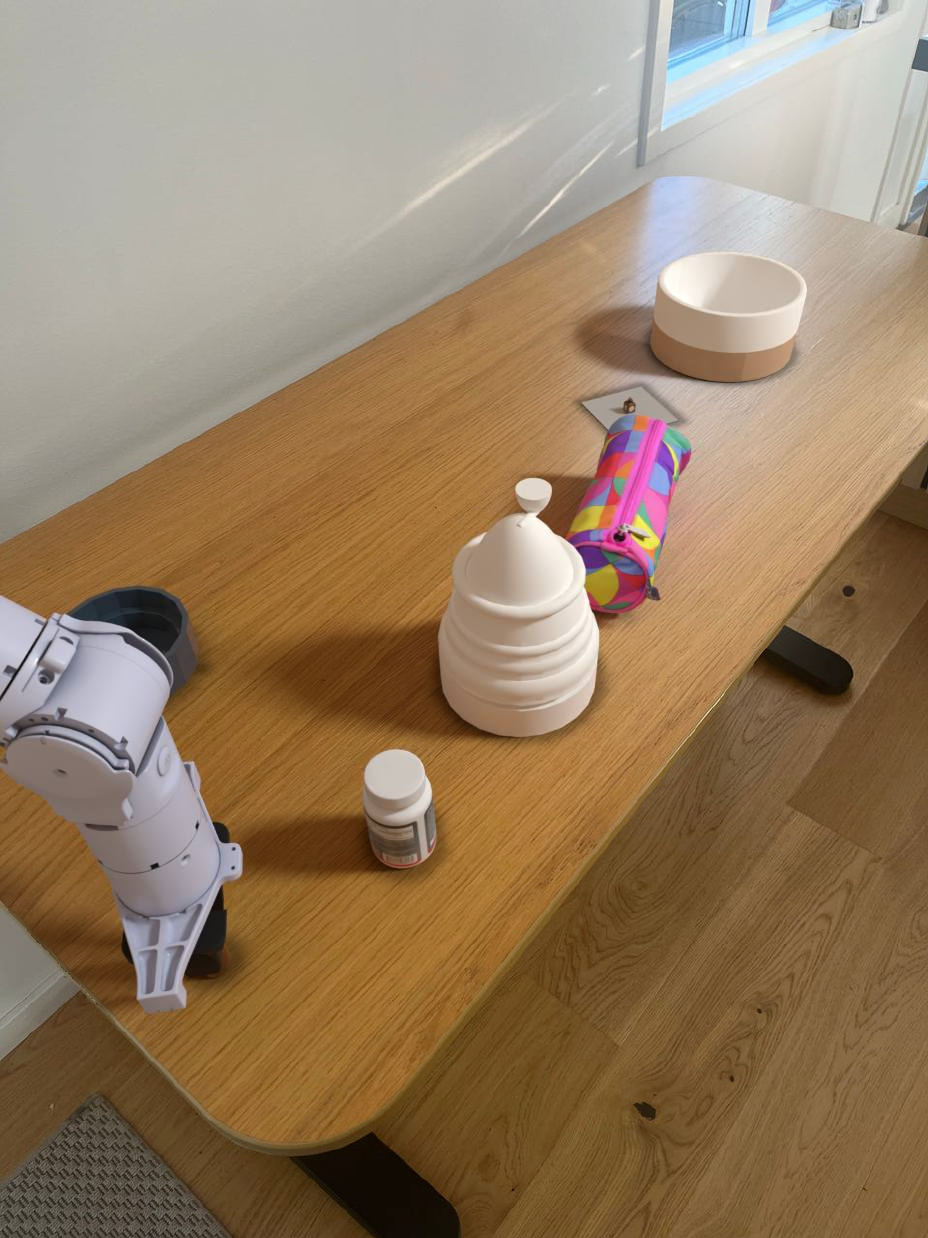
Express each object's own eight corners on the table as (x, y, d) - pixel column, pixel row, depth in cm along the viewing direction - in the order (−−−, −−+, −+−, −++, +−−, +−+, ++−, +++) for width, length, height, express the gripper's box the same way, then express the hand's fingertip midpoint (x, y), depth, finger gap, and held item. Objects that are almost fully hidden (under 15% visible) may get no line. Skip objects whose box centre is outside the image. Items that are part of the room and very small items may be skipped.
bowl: (729, 399, 105) (742, 331, 99) (620, 344, 114) (627, 279, 109) (820, 349, 112) (838, 283, 106) (711, 301, 122) (722, 238, 116)
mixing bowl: (58, 727, 74) (38, 691, 70) (78, 631, 81) (61, 594, 78) (196, 709, 74) (182, 672, 71) (203, 615, 82) (191, 578, 79)
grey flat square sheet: (641, 386, 107) (642, 372, 106) (678, 420, 102) (680, 405, 101) (580, 402, 105) (581, 388, 104) (615, 438, 100) (617, 423, 99)
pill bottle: (406, 801, 68) (397, 731, 62) (450, 840, 65) (445, 771, 59) (357, 841, 65) (342, 772, 59) (401, 883, 63) (390, 816, 57)
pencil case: (654, 635, 79) (667, 556, 72) (547, 615, 81) (551, 536, 75) (686, 487, 93) (700, 411, 87) (595, 473, 95) (602, 398, 89)
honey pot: (488, 602, 82) (485, 433, 69) (620, 653, 77) (643, 480, 65) (411, 698, 75) (392, 528, 62) (552, 761, 70) (563, 590, 57)
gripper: (217, 944, 43) (269, 1051, 52) (227, 707, 53) (270, 833, 63) (63, 968, 42) (144, 1072, 52) (103, 724, 52) (165, 849, 62)
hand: (205, 943), depth 57 cm, fingers open, 3 cm apart
